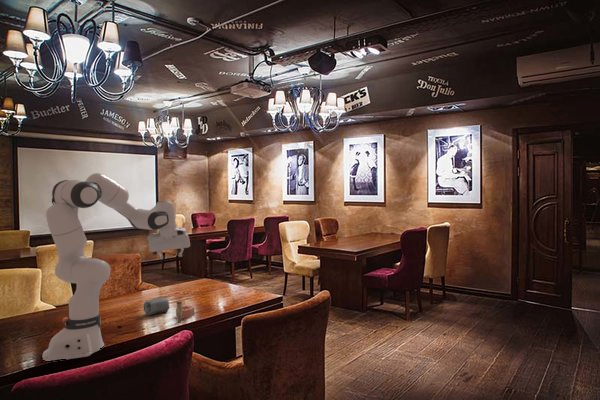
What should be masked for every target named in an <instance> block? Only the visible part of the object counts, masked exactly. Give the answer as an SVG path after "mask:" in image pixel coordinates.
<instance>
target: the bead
mask: <svg viewBox="0 0 600 400" xmlns="http://www.w3.org/2000/svg"><path fill="white" fill-rule="evenodd" d="M195 311H196V310H195V306H193V305H188V304H187V305H186V304H185V305H182V319H188V318H192V317H193V316H194V315H195V314H196V313H195ZM175 316H176V317H177V307H176V308H175Z"/></svg>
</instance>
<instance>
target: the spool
mask: <svg viewBox="0 0 600 400" xmlns="http://www.w3.org/2000/svg"><path fill="white" fill-rule="evenodd" d="M169 310H170V302H169V299H168V298H167V297H165V296H163V297H156V298H151V299H149V300H146V301H145V302H144V304H143V311H144V314H146V316H152V315H156V314H161V313H165V312H168V311H169Z"/></svg>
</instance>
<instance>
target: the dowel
mask: <svg viewBox="0 0 600 400" xmlns="http://www.w3.org/2000/svg"><path fill="white" fill-rule="evenodd" d="M182 306H183V301H181V300H179V301H178V300H177V301H176V308H177V316H176V322H177V323H181V321H182V322H183V318H182Z"/></svg>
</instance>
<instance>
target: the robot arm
mask: <svg viewBox="0 0 600 400" xmlns="http://www.w3.org/2000/svg"><path fill="white" fill-rule="evenodd" d="M51 196H52V198H51V203H52V205H50V206H49V207H48V208H47V209H46V212H45V213H46V214H45V215H46V217H45V218H46V221H47V226H48V228H49V232H50V234H51V237H52V239H53V242H54V245H55V248H56V250H57V255H58V262H57V263H56V264H55V269H54V274H55V276H56V278H57V279H59V280H60V281H63V282H66V283H69V284H70V283H71V284H76V288H75V292H74V294H73V295H72V296H70V298H69V299H68V314H69V315H68V316H69V317H67V316H66V317H63V319H62V323H63V328H62V329H61V330H60V331H58V333H56V334H55V335H54V336H53V337H52V338H51V339H50V340H49V341H50V342H49V344H48V348H47V349H45V350H44V351H43V353H42V355H41V356H42V358H43V359H42V360H45V361H51V360H57V359H66V360H71V359H72V360H73V359H79V358H86V357H90V356H91V355H92V354H94V353H96V352H98V351H100V350H101V349H100V348H102V347H103V346H104V347H105V343H104V340H103V337H102V332H101V325H102V323H101V322H102V321H101V320H102V319H101V314H100V310H99V309H100V305H99V304H100V303H99V301H100V299H99V298H100V293H101V289H102V287H103V285H104V283H106V282H107V281H108V280H109V278H110V277H111V276H110V275H111V271H112V270H111V265H110V264H109V263H108V262H106V260H102V259H100V258H94V257H86V255H85V253H84V252H85V249H84V248H85V247H86V246H87V244H88V239H87V236H86V234H85V231H84V229H83V225H82V223H81V220H80V219H79V214H78V213H79V209H86V208H87V209H88V208H91V207H93V206H94V205H96V203H98V201H99V202H100V203H102V204H103V205H105V206H106V207H108V208H111V209H113V210H114V211H116V212H117V213H118V214H120V215H121V216H122V217H125V219H126V220H128V222H129V223H130V225H131V226H132V227H133V228H134V229H138V230H139V229H140V230H148V231H157V230H158V232H155V233H150V234H148V235H147V239H146V240H147V243H148V251H149V252H150V253H155V252H156V254H157V255H158V257H159V259H160V260H164V255H163V254H161V252H165V251H170V250H171V251H172V250H177V249H179V250H180V252H178V257H179V258H181V257H183V253H184V250H185V249H187V248H190V247H191V242H190V241H191V239H190V237H189V234H188V233H187V229H186V228H185V227H181V226H178V225H177V221H176V208H175V206H174V203H173V202H172V201H166V200H159V201H157V203H156V204H155V205H154V206H153V207H152V208H151V209H143V208H136V207H135V206H133V205H132V204H131V203H129V202H128V201H129V197H130V194H129V191H128V190H127V189H126V188H125V186H123V185H122V184H120V183H119V182H117V181H116V180H115V179H112V178H111V177H110V176H107V175H105V174H102V173H99V172H96V173H92V174H90V175H89V176H88V177H87V178H86V180H85V181H83V180H82V181H81V180H78V179H77V180H76V179H74V180H73V179H71V180H70V179H69V180H68V179H65V180H61V181H59V182H57V183H55V184H54V185H53V188H52V192H51ZM104 347H103V348H104ZM103 348H102V349H103ZM45 361H44V362H45Z"/></svg>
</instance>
